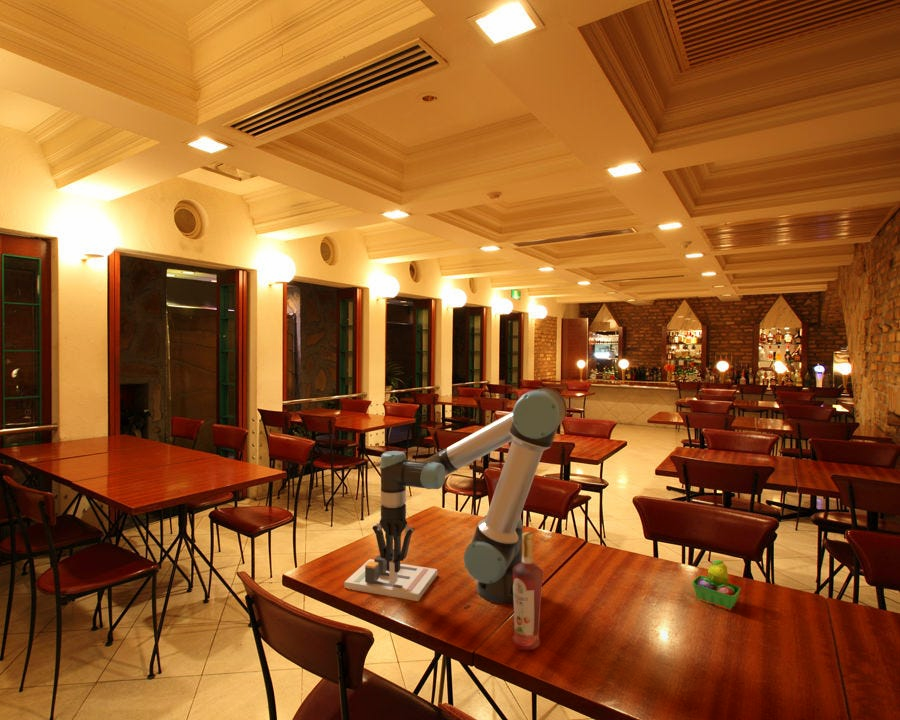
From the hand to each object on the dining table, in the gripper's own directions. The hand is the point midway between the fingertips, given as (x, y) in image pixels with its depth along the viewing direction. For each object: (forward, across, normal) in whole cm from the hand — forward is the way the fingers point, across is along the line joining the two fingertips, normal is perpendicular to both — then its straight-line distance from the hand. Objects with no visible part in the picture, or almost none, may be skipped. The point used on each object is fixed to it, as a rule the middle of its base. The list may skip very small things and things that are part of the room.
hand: (393, 581), depth 147 cm
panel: (+3, +3, -6) cm, 7 cm away
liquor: (+4, -42, +14) cm, 44 cm away
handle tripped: (+1, +7, 0) cm, 7 cm away
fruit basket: (+5, -92, -25) cm, 95 cm away
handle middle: (+1, +7, -6) cm, 9 cm away
